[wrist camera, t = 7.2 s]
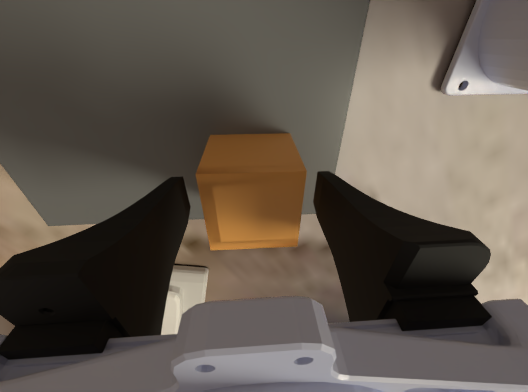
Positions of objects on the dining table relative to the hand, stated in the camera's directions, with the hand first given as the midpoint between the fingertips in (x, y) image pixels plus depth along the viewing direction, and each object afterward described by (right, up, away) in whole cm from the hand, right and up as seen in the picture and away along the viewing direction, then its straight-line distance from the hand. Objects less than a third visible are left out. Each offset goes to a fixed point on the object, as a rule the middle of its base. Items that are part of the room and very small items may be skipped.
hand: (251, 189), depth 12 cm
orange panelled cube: (0, +1, +2) cm, 2 cm away
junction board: (-5, +5, 0) cm, 7 cm away
